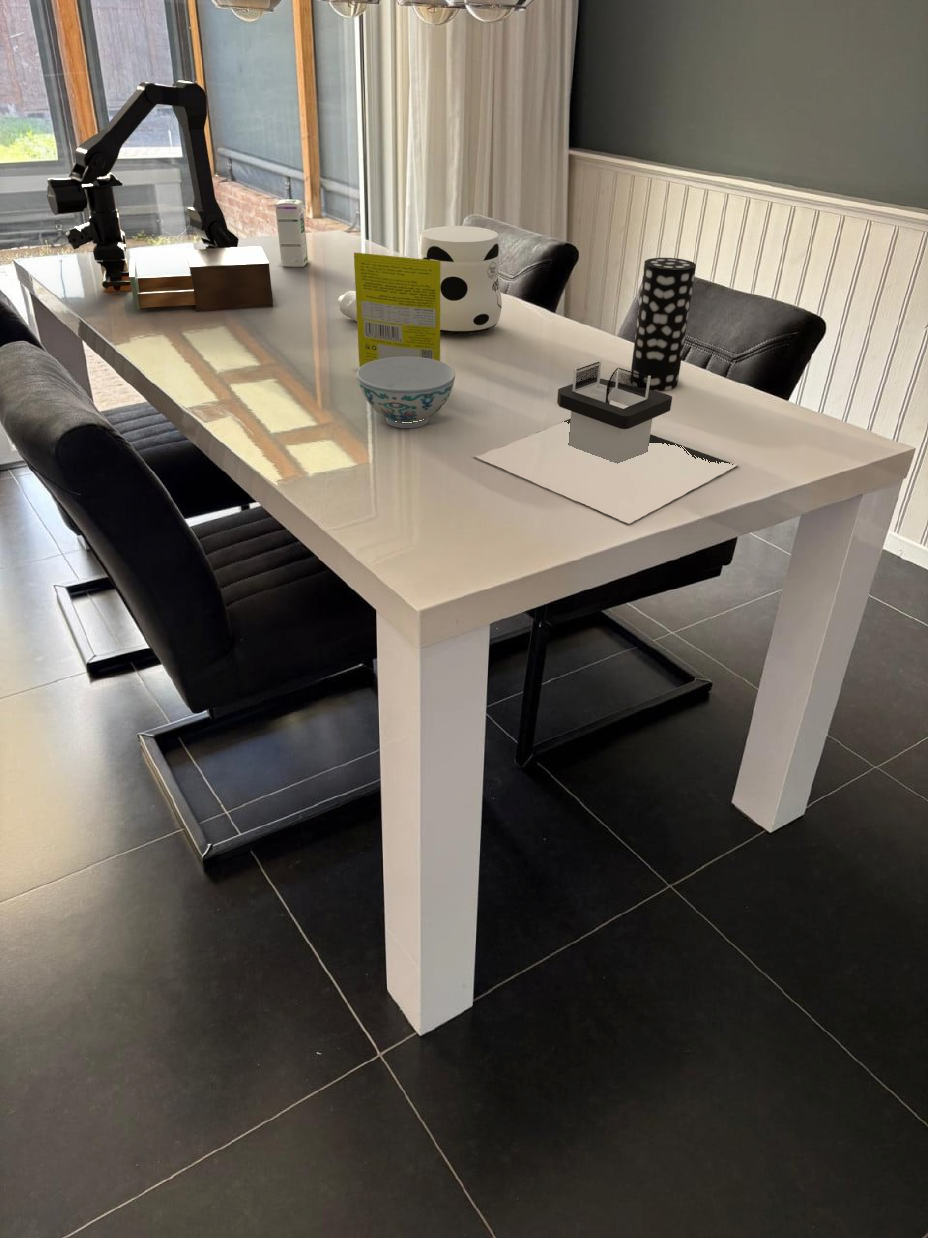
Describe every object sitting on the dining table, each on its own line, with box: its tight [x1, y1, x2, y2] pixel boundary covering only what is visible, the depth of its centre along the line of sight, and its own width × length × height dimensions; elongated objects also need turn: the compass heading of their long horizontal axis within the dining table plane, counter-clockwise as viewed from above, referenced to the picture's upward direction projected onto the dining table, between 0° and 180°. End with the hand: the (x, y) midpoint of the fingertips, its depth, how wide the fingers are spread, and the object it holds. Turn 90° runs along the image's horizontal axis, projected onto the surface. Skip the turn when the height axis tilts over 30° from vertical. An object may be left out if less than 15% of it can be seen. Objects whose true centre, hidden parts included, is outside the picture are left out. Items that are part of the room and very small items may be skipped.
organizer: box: [186, 246, 274, 312], centre depth 194 cm, size 16×16×9 cm
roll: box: [337, 290, 357, 323], centre depth 184 cm, size 6×12×6 cm, turn 35°
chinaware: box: [356, 357, 456, 429], centre depth 139 cm, size 15×15×8 cm
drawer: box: [101, 258, 196, 311], centre depth 191 cm, size 22×16×6 cm
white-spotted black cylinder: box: [630, 257, 697, 392], centre depth 152 cm, size 8×8×20 cm
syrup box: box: [274, 198, 309, 268], centre depth 220 cm, size 6×6×14 cm
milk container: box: [418, 225, 503, 336], centre depth 177 cm, size 17×17×18 cm
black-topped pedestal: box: [556, 360, 734, 465], centre depth 125 cm, size 28×26×13 cm
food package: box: [353, 252, 441, 369], centre depth 152 cm, size 15×1×20 cm, turn 71°
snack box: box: [100, 258, 132, 293], centre depth 200 cm, size 6×3×6 cm, turn 107°
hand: (117, 285), depth 201 cm, fingers open, 9 cm apart
